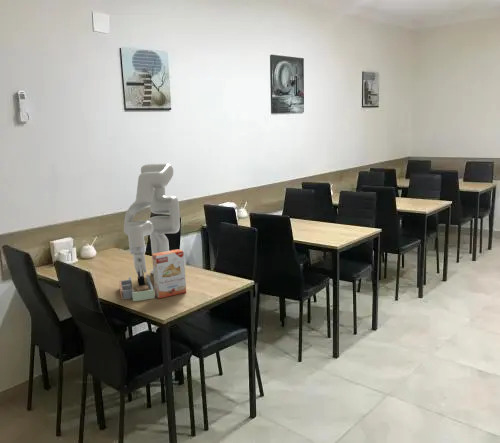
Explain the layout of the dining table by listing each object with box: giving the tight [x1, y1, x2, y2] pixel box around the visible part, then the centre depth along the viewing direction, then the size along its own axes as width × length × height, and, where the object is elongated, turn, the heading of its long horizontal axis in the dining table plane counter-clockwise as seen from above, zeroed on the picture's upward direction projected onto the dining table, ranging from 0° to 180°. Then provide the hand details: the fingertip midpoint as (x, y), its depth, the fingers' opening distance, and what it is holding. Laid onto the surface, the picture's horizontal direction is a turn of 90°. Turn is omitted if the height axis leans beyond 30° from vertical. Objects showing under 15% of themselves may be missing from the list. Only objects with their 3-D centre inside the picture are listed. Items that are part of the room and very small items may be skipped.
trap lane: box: [118, 274, 156, 302], centre depth 238 cm, size 15×27×4 cm, turn 17°
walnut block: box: [136, 284, 150, 292], centre depth 229 cm, size 5×5×5 cm
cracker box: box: [151, 248, 187, 299], centre depth 230 cm, size 14×6×21 cm, turn 122°
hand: (141, 284), depth 240 cm, fingers closed
